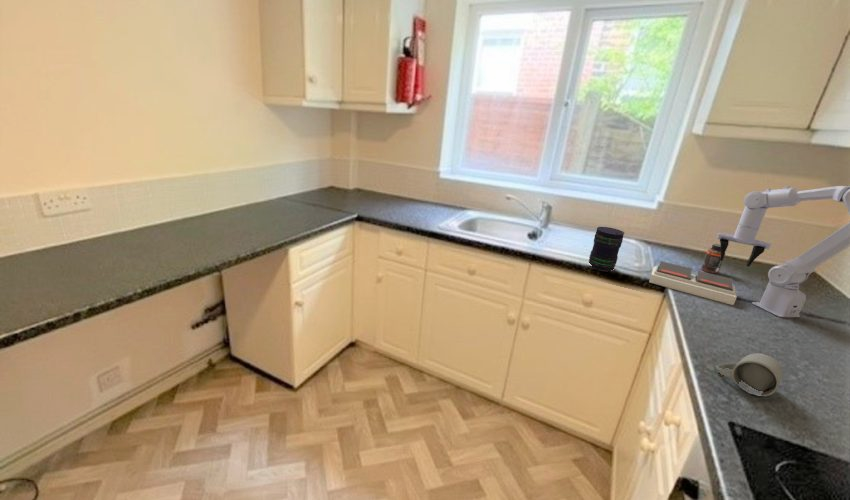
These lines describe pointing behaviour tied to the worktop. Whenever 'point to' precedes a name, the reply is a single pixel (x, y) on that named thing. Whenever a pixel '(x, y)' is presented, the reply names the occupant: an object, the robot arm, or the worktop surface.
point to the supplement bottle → (712, 259)
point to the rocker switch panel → (693, 287)
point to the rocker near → (714, 280)
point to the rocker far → (674, 270)
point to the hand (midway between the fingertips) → (734, 262)
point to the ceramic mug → (755, 372)
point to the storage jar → (606, 248)
